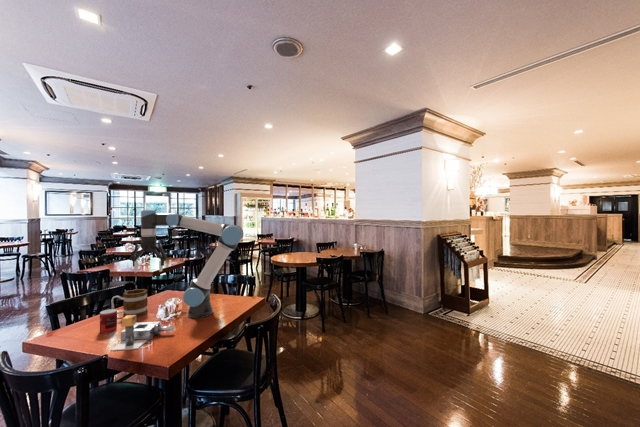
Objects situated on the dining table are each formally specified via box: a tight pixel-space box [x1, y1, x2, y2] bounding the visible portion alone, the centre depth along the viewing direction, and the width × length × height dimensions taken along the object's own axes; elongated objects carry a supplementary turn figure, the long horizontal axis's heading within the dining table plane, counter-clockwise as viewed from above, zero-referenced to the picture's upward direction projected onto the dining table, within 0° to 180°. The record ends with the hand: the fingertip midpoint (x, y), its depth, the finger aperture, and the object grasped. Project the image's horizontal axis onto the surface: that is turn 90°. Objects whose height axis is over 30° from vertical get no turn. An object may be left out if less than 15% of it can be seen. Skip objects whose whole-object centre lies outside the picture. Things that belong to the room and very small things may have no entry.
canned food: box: [99, 308, 118, 334], centre depth 156 cm, size 8×8×11 cm
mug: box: [110, 288, 148, 318], centre depth 180 cm, size 20×14×15 cm
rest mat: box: [110, 340, 148, 352], centre depth 138 cm, size 12×9×1 cm
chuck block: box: [120, 321, 174, 342], centre depth 150 cm, size 23×12×6 cm, turn 98°
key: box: [121, 315, 138, 346], centre depth 138 cm, size 4×4×14 cm
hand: (148, 271), depth 164 cm, fingers open, 13 cm apart
